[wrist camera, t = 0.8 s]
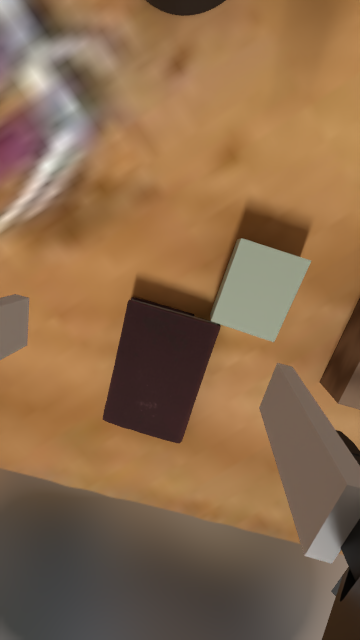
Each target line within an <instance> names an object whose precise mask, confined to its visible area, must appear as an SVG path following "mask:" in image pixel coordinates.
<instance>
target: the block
mask: <svg viewBox="0 0 360 640" xmlns="http://www.w3.org/2000/svg"><path fill="white" fill-rule="evenodd" d="M310 263H311V261H310V260H307V259H304V258H301V257H298V256H295V255H292V254H289V253H286V252H283V251H280V250H277V249H274V248H271V247H268V246H264V245H261V244H258V243H255V242H252V241H249V240H246V239H243V238H240V239H237V242H236V244H235V247H234V250H233V253H232V255H231V258H230V261H229V264H228V266H227V269H226V272H225V275H224V277H223V280H222V283H221V286H220V289H219V291H218V294H217V297H216V300H215V302H214V305H213V308H212V311H211V313H210V316H211V321H212V322H215V323H218V324H221V325H224V326H227V327H230V328H233V329H236V330H239V331H242V332H245V333H248V334H251V335H254V336H257V337H260V338H263V339H266V340H269V341H272V342H274V341H275V339H276V337H277V334H278V332H279V330H280V328H281V326H282V324H283V321H284V319H285V317H286V315H287V313H288V311H289V308H290V306H291V304H292V302H293V300H294V297H295V295H296V293H297V291H298V289H299V287H300V284H301V282H302V280H303V278H304V276H305V273H306V271H307V269H308V267H309V265H310Z"/></svg>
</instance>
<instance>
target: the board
mask: <svg viewBox="0 0 360 640" xmlns="http://www.w3.org/2000/svg"><path fill="white" fill-rule="evenodd" d="M320 383H321V384H322V385H323V387H324V388H325V389H326V390H327V391H328V392H329V394H330V395H331V396H332V397H333V398H334V399H335V401H336V402H337V403H338V404H342V405H345V406H349V407H352V408H356V409H359V410H360V299H359V301H358V303H357V306H356V308H355V310H354V312H353V314H352V316H351V318H350V320H349V322H348V324H347V326H346V329H345V331H344V333H343V335H342V337H341V339H340V341H339V343H338V345H337V347H336V349H335V351H334V354H333V356H332V358H331V360H330V362H329V364H328V366H327V368H326V370H325V372H324V374H323V377H322V379H321V381H320Z"/></svg>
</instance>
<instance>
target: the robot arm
mask: <svg viewBox="0 0 360 640" xmlns="http://www.w3.org/2000/svg"><path fill="white" fill-rule="evenodd" d="M146 1H147V2H148V3H150V4H151V5H153V6H154V7H156V8H158V9H160V10H162V11H164V12H167V13H170V14H175V15H195V14H199V13H203V12H206V11H208V10H211V9H213V8H215V7H216V6H218V5H220V4H221V3H223V2H224V1H225V0H146ZM28 314H29V298H28V297H24V296H20V295H16V294H14V295H10V296H6V297H2V298H0V360H1V359H3V358H5V357H7V356H9V355H10V354H12V353H14V352H16V351H18V350H19V349H21V348H23V347H25V346H27V337H28ZM260 412H261V415H262V418H263V421H264V425H265V428H266V431H267V435H268V438H269V441H270V444H271V448H272V451H273V454H274V457H275V461H276V464H277V467H278V470H279V474H280V477H281V480H282V484H283V487H284V490H285V493H286V497H287V500H288V503H289V506H290V510H291V513H292V516H293V520H294V523H295V526H296V529H297V533H298V536H299V539H300V542H301V546H302V549H303V552H304V555H305V556H307V557H310V558H314V559H317V560H321V561H324V562H328V563H333V561H334V559H335V558H336V556H337V555H338V553H339V552H340V550H341V549H342V552H343V554H344V556H345V559H346V561H347V563H348V565H349V567H348V568H347V570H346V571H345V573H344V574H343V575H342V577H341V579H340V580H339V581H338V583H337V584H336V585H335V587H334V588H333V590H332V593H333V594H334V595H335V596H336V598H335V601H334V604H333V607H332V610H331V613H330V616H329V620H328V623H327V626H326V629H325V632H324V635H323V638H322V640H360V451H359V449H358V448H357V447H356V445H355V444H354V443H353V442H352V441H351V440H350V439H349V438H348V437H347V436H345V435H344V434H343V433H342V432H341V431H337V430H335V429H334V427H333V426H332V424H331V423H330V421H329V420H328V418H327V417H326V415H325V414H324V413H323V411H322V410H321V408H320V407H319V405H318V404H317V402H316V401H315V399H314V398H313V396H312V395H311V393H310V392H309V390H308V389H307V388H306V386H305V385H304V383H303V382H302V380H301V379H300V377H299V376H298V374H297V373H296V371H295V370H294V368H293V367H291V366H287V365H284V364H280V363H277V365H276V367H275V370H274V372H273V375H272V377H271V380H270V382H269V385H268V387H267V390H266V392H265V395H264V397H263V400H262V403H261V405H260Z"/></svg>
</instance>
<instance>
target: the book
mask: <svg viewBox="0 0 360 640" xmlns="http://www.w3.org/2000/svg"><path fill="white" fill-rule="evenodd" d="M194 316H195V315H194V314H191V313H188V312H184V311H181V310H178V309H174V308H171V307H168V306H164V305H160V304H157V303H154V302H151V301H147V300H143V299H139V298H134V297H132V298H131V300H129V301H128V304H127V309H126V314H125V318H124V323H123V328H122V333H121V337H120V342H119V346H118V351H117V356H116V361H115V366H114V370H113V374H112V378H111V383H110V388H109V392H108V397H107V401H106V405H105V409H104V415H103V420H105V421H107V422H109V423H112V424H115V425H117V426H120V427H123V428H127V429H131V430H134V431H137V432H140V433H143V434H147V435H150V436H153V437H157V438H160V439H163V440H167V441H171V442H175V443H180V442H181V441H182V439H183V436H184V433H185V430H186V427H187V424H188V421H189V418H190V415H191V411H192V408H193V405H194V402H195V400H196V397H197V394H198V391H199V388H200V385H201V382H202V379H203V376H204V373H205V370H206V367H207V364H208V361H209V358H210V356H211V353H212V350H213V347H214V344H215V341H216V338H217V336H218V333H219V330H220V327H221V326H220V324H218V323H215V322H212V321H208V320H205V319H201V318H198V317H194Z"/></svg>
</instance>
